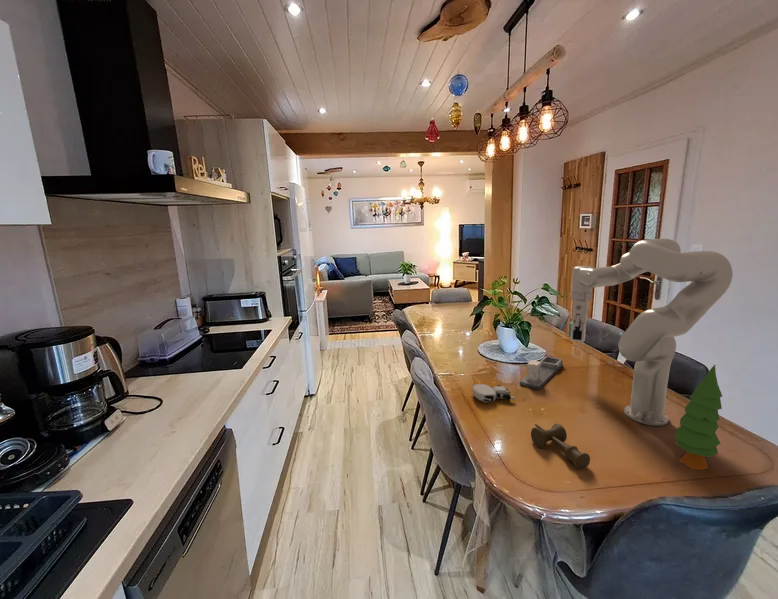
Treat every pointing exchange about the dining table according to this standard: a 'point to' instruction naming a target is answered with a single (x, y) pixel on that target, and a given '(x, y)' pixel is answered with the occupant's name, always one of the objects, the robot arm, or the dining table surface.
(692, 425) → the decorative tree
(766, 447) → the dining table surface
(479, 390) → the robot toy
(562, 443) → the kendama
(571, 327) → the cream block teal pad
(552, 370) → the rail
